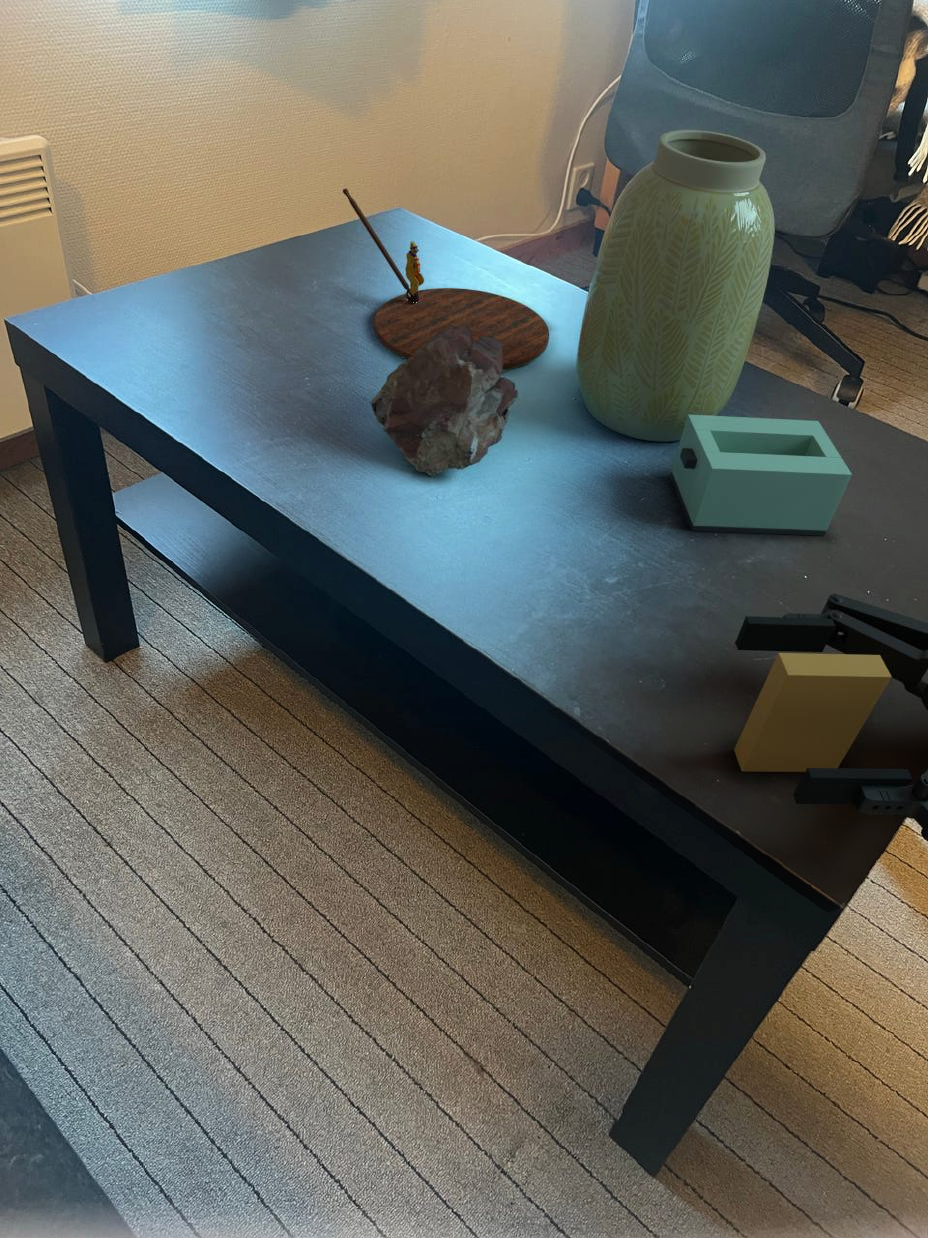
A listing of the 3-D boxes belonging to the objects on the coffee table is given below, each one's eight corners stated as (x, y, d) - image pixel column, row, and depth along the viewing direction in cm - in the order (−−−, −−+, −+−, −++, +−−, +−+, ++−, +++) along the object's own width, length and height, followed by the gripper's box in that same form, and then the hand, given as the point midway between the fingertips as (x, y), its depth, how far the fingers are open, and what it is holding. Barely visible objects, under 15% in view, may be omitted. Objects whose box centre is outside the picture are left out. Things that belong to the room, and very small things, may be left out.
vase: (614, 355, 110) (669, 106, 92) (748, 409, 104) (835, 151, 86) (538, 410, 100) (583, 139, 81) (682, 473, 93) (766, 194, 75)
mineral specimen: (385, 490, 95) (453, 390, 101) (488, 502, 87) (555, 393, 94) (330, 402, 86) (409, 300, 93) (439, 407, 79) (516, 295, 85)
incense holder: (476, 394, 101) (488, 295, 93) (283, 301, 113) (279, 207, 105) (581, 335, 114) (598, 244, 106) (397, 257, 126) (401, 170, 118)
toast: (825, 750, 68) (880, 654, 61) (835, 772, 66) (892, 676, 60) (733, 749, 67) (778, 652, 60) (741, 771, 66) (788, 674, 59)
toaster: (794, 480, 94) (818, 420, 89) (824, 536, 88) (852, 474, 83) (660, 475, 93) (677, 413, 88) (680, 530, 86) (700, 467, 81)
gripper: (1134, 899, 58) (810, 900, 56) (957, 624, 76) (708, 617, 74) (1210, 831, 53) (858, 829, 51) (1002, 554, 71) (735, 544, 69)
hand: (768, 703), depth 62 cm, fingers open, 13 cm apart
